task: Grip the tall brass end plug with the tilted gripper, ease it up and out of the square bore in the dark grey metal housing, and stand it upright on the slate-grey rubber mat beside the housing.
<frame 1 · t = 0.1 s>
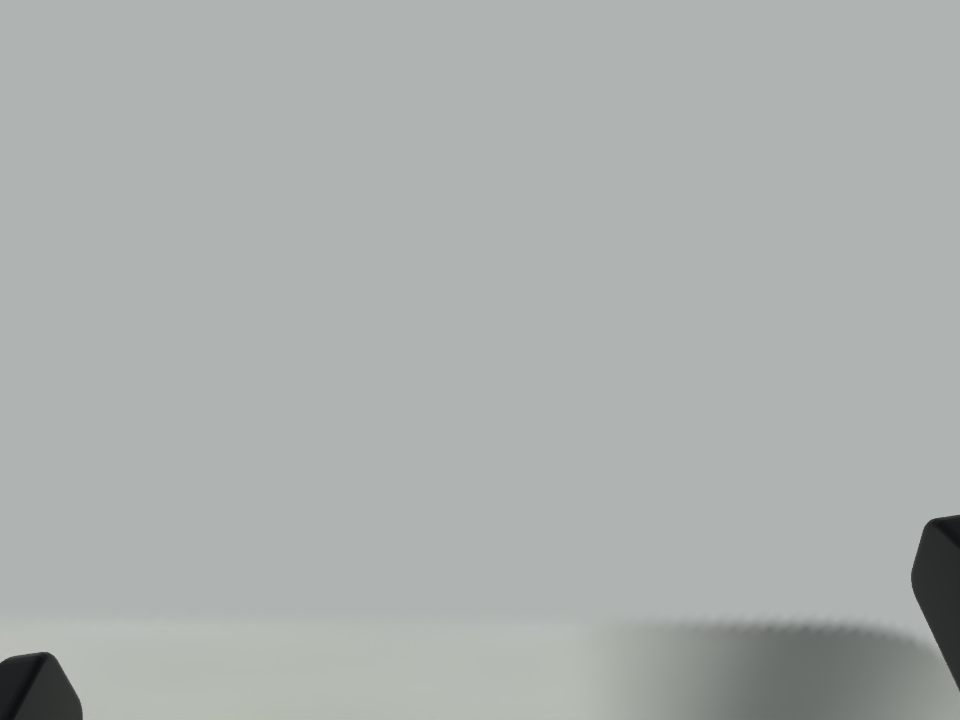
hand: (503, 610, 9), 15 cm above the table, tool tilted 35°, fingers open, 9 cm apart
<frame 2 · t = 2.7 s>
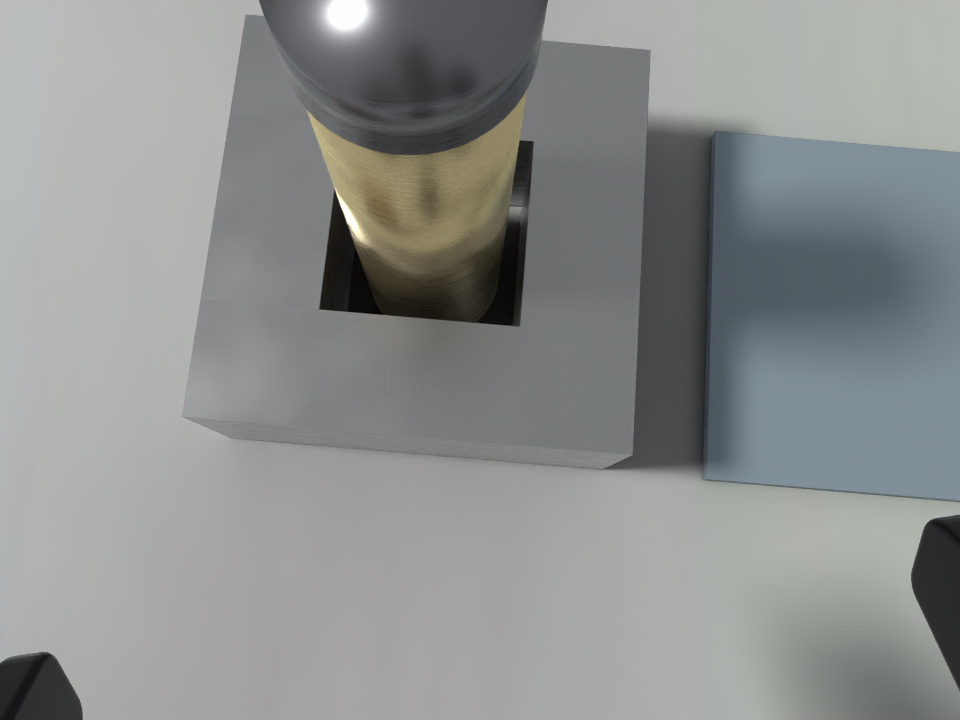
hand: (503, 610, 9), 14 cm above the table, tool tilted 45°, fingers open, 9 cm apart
metal housing: (434, 275, 23), on the table
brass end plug: (424, 178, 17), in the metal housing
rubber mat: (884, 316, 24), on the table
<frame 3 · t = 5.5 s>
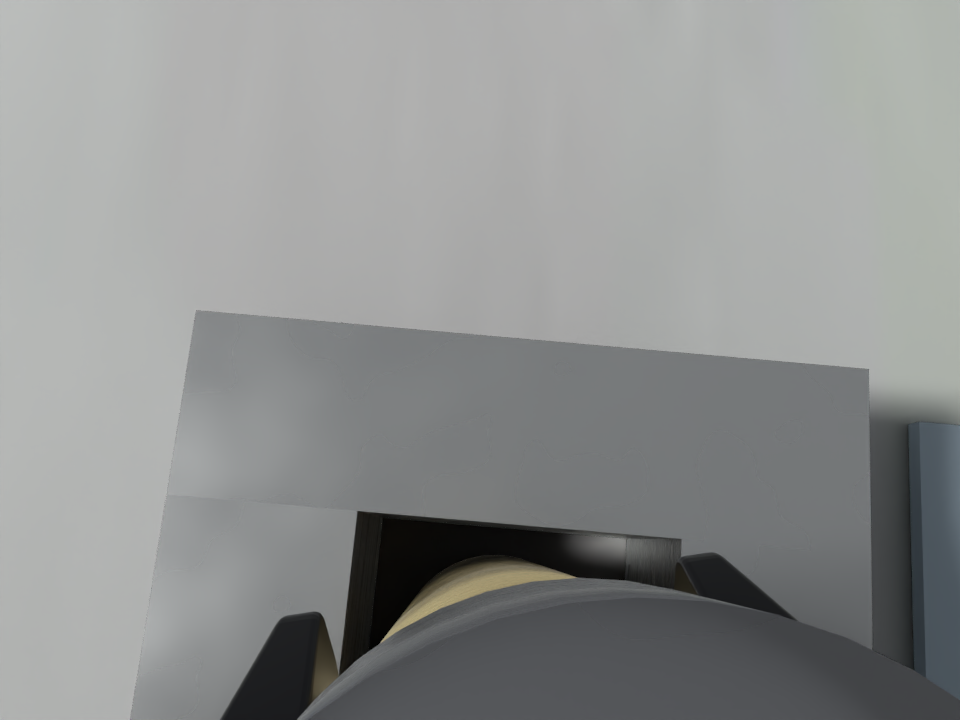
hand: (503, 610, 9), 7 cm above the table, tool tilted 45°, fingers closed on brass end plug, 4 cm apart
metal housing: (495, 656, 15), on the table
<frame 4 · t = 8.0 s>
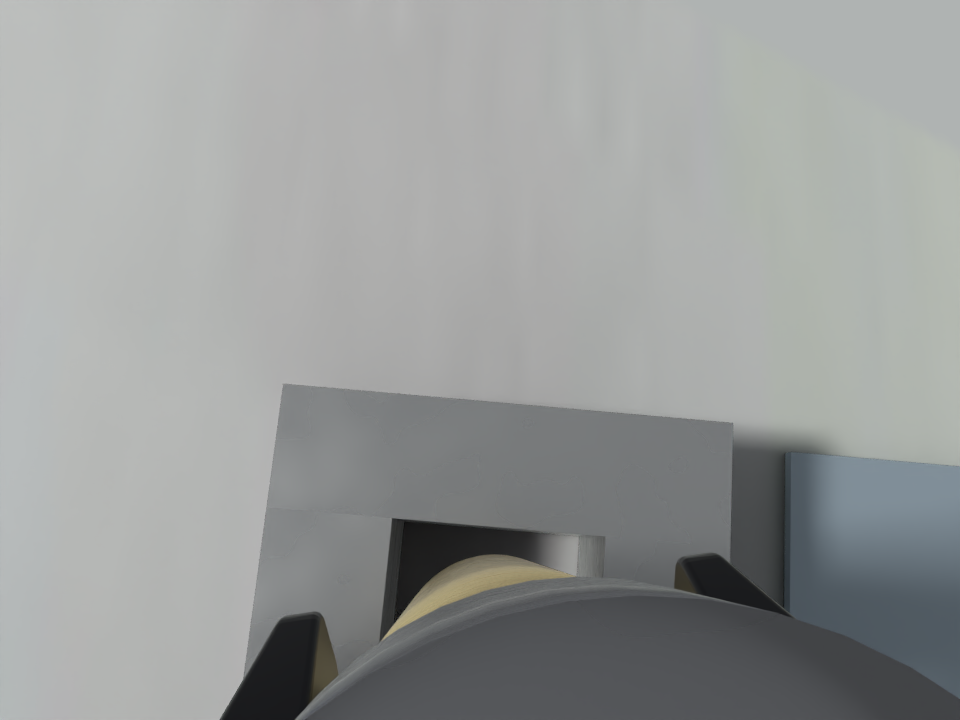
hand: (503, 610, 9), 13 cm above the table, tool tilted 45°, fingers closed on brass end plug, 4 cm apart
metal housing: (484, 620, 21), on the table
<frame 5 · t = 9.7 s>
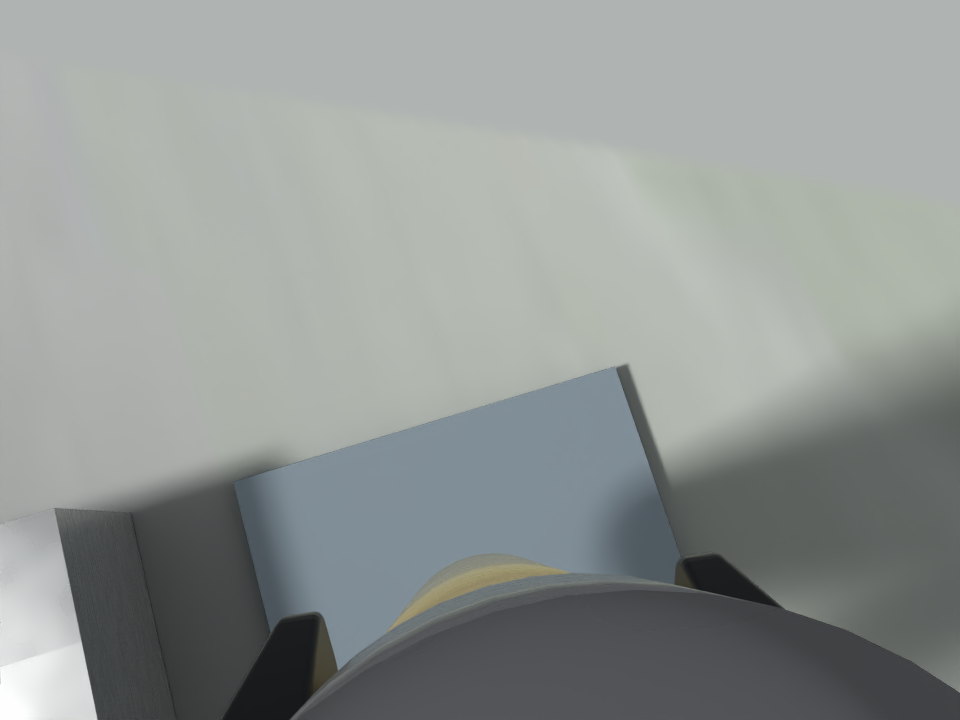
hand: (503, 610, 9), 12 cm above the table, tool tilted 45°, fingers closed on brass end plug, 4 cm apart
rubber mat: (486, 619, 20), on the table
when the fingers open (8 cm above the table, at t = 10.7 s): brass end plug stays where it is, resting on rubber mat.
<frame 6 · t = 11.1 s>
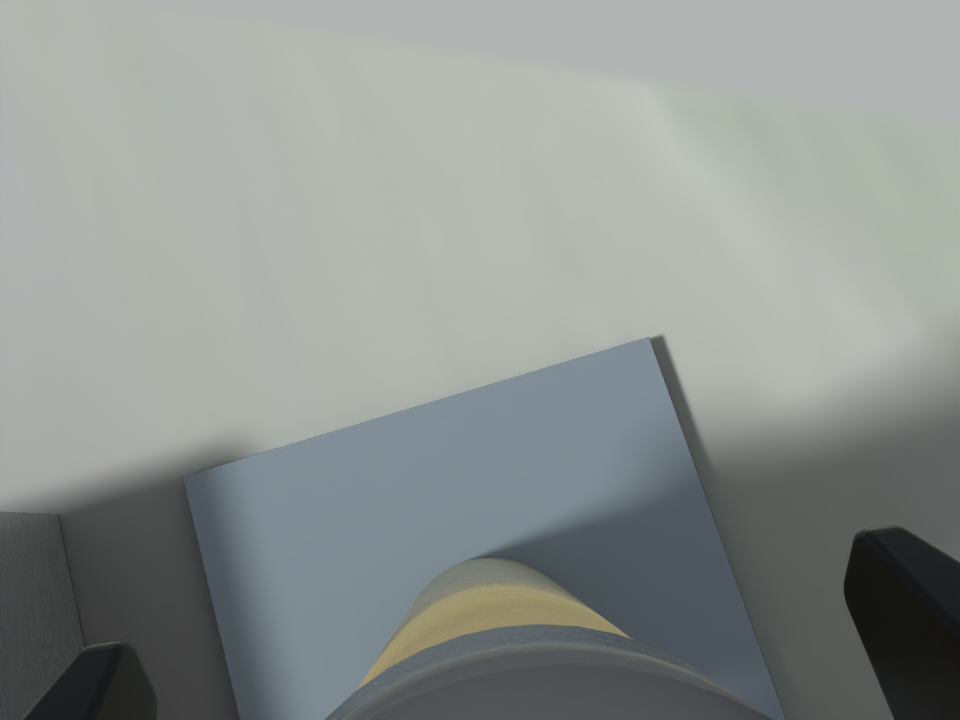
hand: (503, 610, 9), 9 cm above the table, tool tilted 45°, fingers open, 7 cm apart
rubber mat: (492, 645, 17), on the table
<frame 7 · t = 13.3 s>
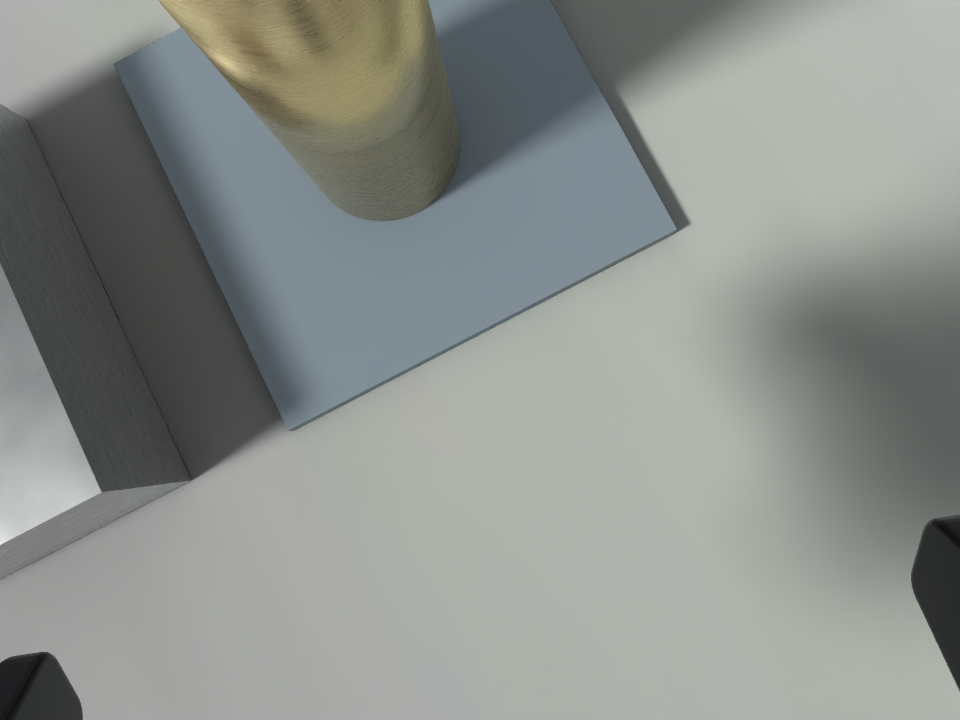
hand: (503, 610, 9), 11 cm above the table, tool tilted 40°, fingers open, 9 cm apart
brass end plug: (312, 4, 13), on the rubber mat
rubber mat: (387, 149, 20), on the table
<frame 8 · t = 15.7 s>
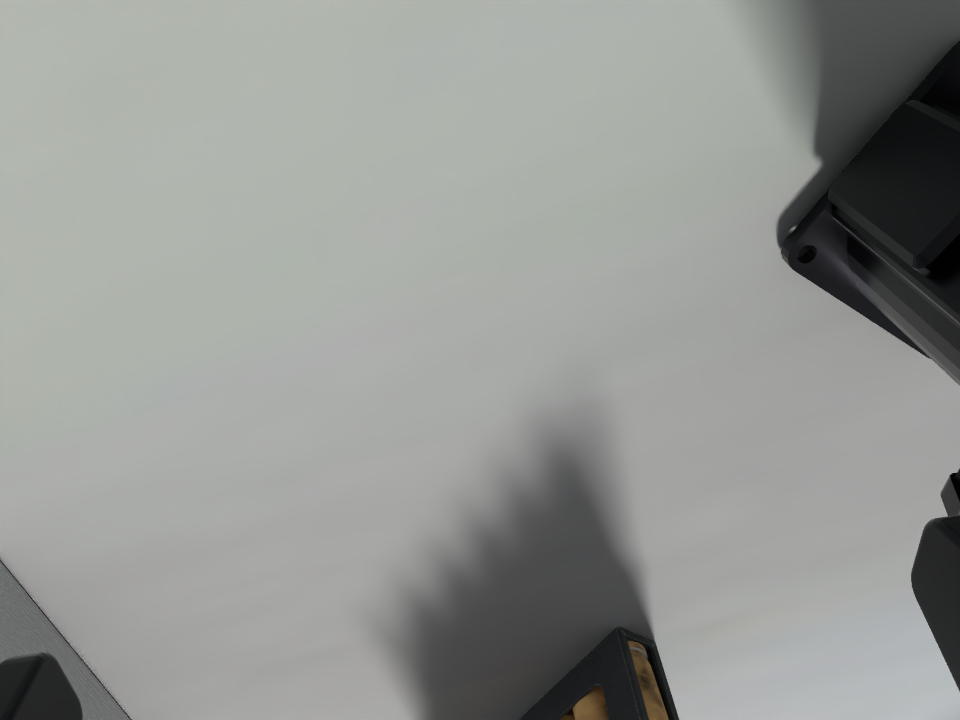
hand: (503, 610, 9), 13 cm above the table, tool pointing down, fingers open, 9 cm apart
ammunition clip: (545, 713, 32), on the table
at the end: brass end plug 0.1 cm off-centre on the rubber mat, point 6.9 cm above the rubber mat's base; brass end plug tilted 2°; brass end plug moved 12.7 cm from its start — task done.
